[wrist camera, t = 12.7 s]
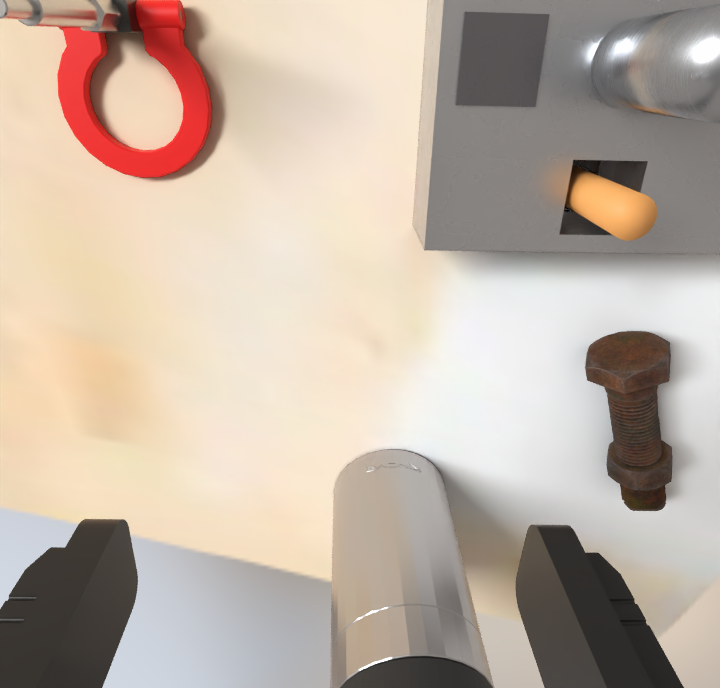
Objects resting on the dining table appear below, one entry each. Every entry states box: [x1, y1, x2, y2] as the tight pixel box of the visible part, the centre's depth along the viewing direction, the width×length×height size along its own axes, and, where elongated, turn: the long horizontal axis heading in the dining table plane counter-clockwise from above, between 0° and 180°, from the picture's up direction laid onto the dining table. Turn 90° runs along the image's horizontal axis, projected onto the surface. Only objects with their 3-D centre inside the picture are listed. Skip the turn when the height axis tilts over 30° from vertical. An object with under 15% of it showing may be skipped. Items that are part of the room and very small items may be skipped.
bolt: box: [585, 331, 672, 511], centre depth 41 cm, size 6×5×15 cm
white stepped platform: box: [413, 0, 720, 254], centre depth 26 cm, size 19×24×14 cm
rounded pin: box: [565, 165, 657, 241], centre depth 30 cm, size 2×2×10 cm
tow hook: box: [0, 0, 212, 178], centre depth 26 cm, size 8×13×9 cm
